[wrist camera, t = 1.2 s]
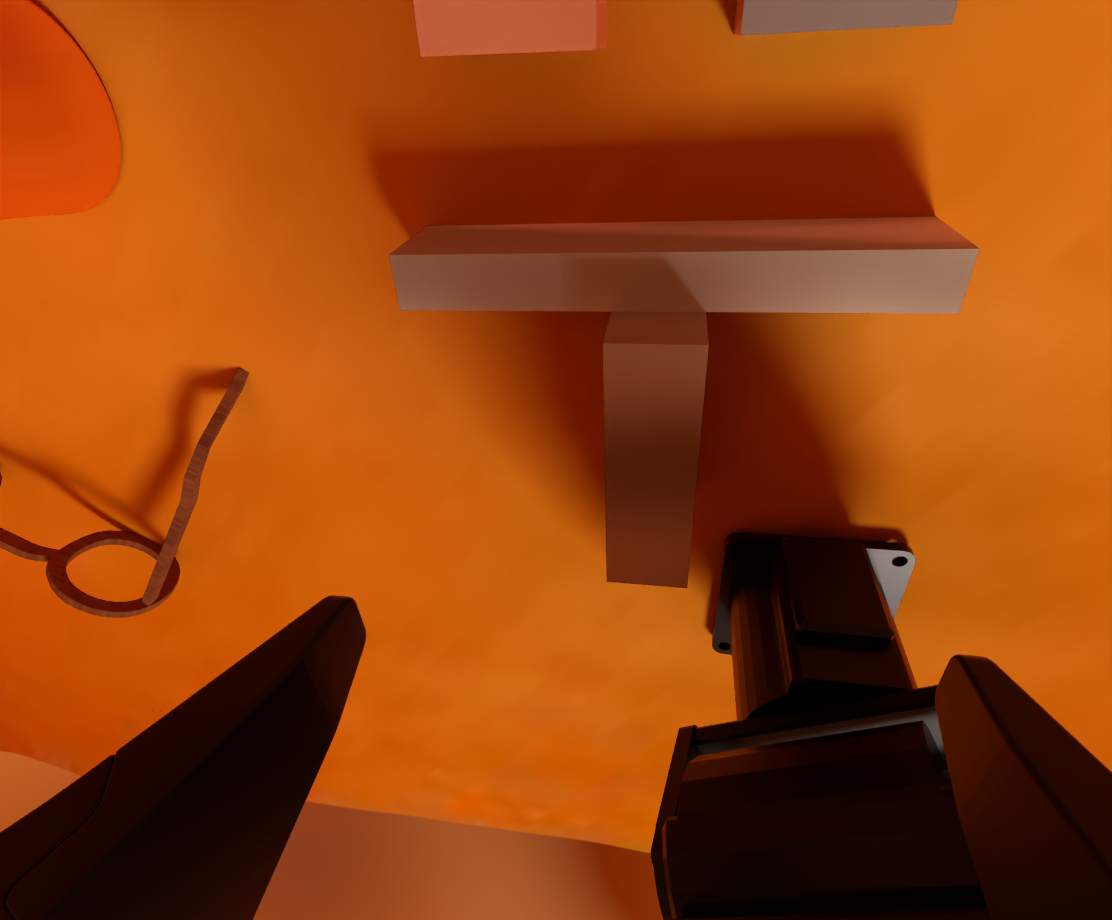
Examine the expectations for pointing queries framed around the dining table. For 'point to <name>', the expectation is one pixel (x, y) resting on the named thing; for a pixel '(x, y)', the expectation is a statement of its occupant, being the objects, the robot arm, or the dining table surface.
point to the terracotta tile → (509, 26)
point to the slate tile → (838, 15)
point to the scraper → (676, 325)
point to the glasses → (132, 536)
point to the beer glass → (51, 120)
